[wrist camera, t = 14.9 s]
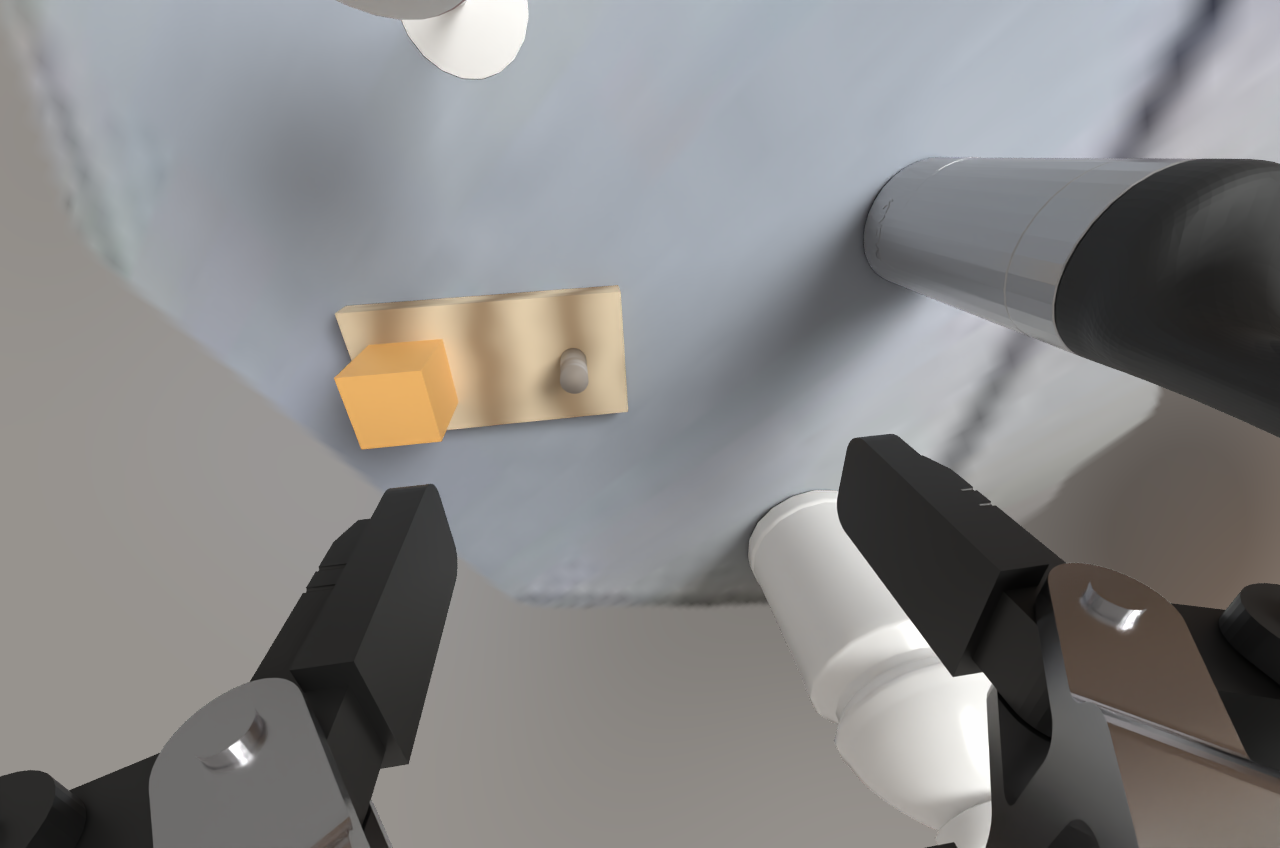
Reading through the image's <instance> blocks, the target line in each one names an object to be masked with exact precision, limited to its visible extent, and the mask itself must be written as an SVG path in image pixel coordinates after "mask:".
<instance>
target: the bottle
mask: <svg viewBox="0 0 1280 848" xmlns="http://www.w3.org/2000/svg"><path fill="white" fill-rule="evenodd" d="M837 497H838V491H835V490H814V491H810V492H806V493H802V494H799V495H795V496H792V497H790V498H789V499H787V500H785V501H784V502H782V503H780V504H778V505H777V506H775V507H773V508H772V509H771V510H770V511H769V512H768V513H767V514H766V515H765V516H764V517H763V518H762V519H761V520H760V521H759V522H758V523H757V525H756V527H755V529H754V531H753V533H752V535H751V537H750V539H749V551H748V559H749V563H750V567H751V569H752V572H753V574H754V576H755V578H756V581H757V583H758V584H760V586H761V588H762V590H763V592H764V595H765V597H766V599H767V601H768V604H769V606H770V608H771V610H772V613H773V615H774V617H775V619H776V622H777V624H778V626H779V628H780V631H781V633H782V635H783V637H784V639H785V642H786V644H787V646H788V648H789V650H790V652H791V655H792V657H793V659H794V662H795V664H796V666H797V668H798V671H799V673H800V675H801V678H802V680H803V682H804V685H805V688H806V691H807V694H808V696H809V698H810V700H811V703H812V705H813V706H814V708H815V710H816V712H817V713H818V714H819V715H821V716H822V717H824V718H826V719H827V720H829V721H830V722H832V723H835V724H838V728H837V731H836V735H835V739H834V742H835V745H836V747H837V749H838V752H839V754H840V756H841V758H842V760H843V761H844V762H845V764H846V765H848V766H849V767H850V768H851V770H852V771H853V772H854V774H855V775H856V776H857V777H858V778H859V779H860V780H861V781H862V783H864V785H866V786H867V787H868V788H869V789H870V790H871V791H872V792H873V793H875V794H876V795H877V796H879V797H880V798H881V799H882V800H884V801H885V802H887V803H888V804H889V805H891V806H892V807H894V808H895V809H897V810H898V811H900V812H902V813H903V814H905V815H907V816H909V817H910V818H912V819H914V820H916V821H918V822H920V823H922V824H924V825H925V826H928V827H930V828H932V829H934V830H937V831H938V833H937V835H936V837H935V840H936V844H937V845H942V844H947V843H952V842H954V843H955V844H956V846H957V848H986V844H987V840H988V837H989V832H990V827H991V816H992V805H991V785H990V764H989V744H988V723H987V703H986V698H987V692H988V690H989V688H990V686H991V684H992V683H991V682H990V681H989V679H988V678H987V677H986V676H985V674H984V673H983V672H982V673H976V674H970V675H963V676H957V677H952V676H951V674H950V673H949V672H948V670H947V669H946V667H945V666H944V665H943V663H942V662H941V661H940V659H939V658H938V657H937V655H936V654H935V653H934V651H933V650H932V649H931V647H930V646H929V645H928V643H927V642H926V641H925V639H924V638H923V636H922V635H921V634H920V632H919V631H918V630H917V628H916V627H915V626H914V624H913V623H912V622H911V620H910V619H909V618H908V616H907V615H906V614H905V612H904V611H903V609H902V608H901V607H900V605H899V604H898V603H897V601H896V600H895V599H894V597H893V596H892V595H891V593H890V592H889V591H888V589H887V588H886V587H885V585H884V584H883V582H882V581H881V580H880V578H879V577H878V576H877V574H876V573H875V572H874V570H873V569H872V568H871V566H870V565H869V564H868V562H867V561H866V560H865V558H864V557H863V555H862V554H861V553H860V551H859V550H858V549H857V547H856V546H855V545H854V543H853V542H852V541H851V539H850V538H849V537H848V535H847V534H846V533H845V531H844V530H843V528H842V526H841V523H840V521H839V518H838V513H837Z"/></svg>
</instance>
